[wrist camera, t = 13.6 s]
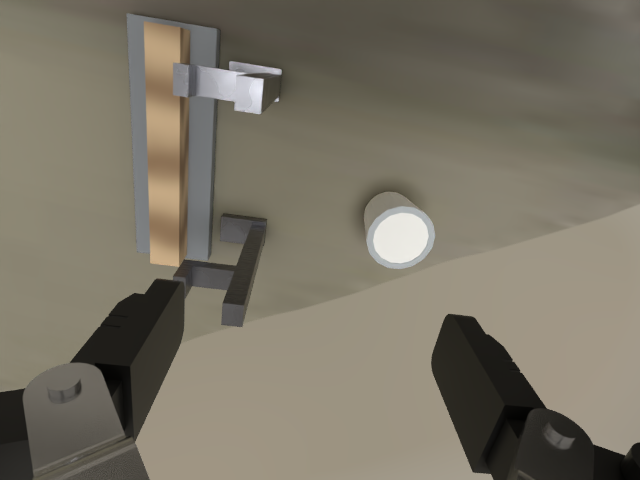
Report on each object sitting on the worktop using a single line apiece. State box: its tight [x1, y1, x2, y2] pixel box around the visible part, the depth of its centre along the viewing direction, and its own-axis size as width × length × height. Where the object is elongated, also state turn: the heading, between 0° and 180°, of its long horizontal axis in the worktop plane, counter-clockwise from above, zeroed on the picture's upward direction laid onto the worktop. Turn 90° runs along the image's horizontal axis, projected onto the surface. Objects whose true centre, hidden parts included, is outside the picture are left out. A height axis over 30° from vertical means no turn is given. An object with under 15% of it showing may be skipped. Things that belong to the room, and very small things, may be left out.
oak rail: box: [144, 21, 190, 267], centre depth 38 cm, size 23×3×3 cm, turn 171°
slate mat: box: [127, 13, 220, 261], centre depth 40 cm, size 24×8×2 cm, turn 171°
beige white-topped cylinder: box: [364, 192, 435, 269], centre depth 42 cm, size 7×7×7 cm
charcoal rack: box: [173, 61, 282, 327], centre depth 34 cm, size 19×6×17 cm, turn 171°
